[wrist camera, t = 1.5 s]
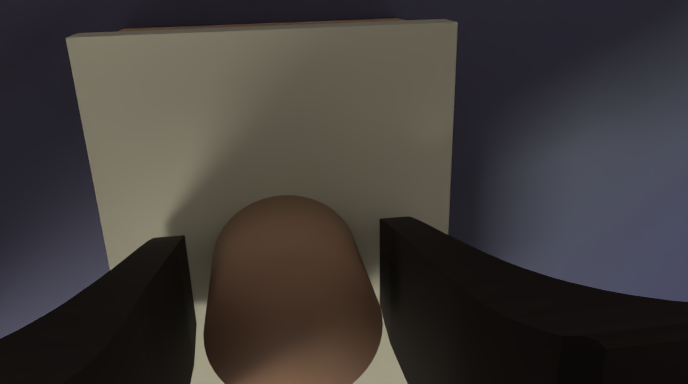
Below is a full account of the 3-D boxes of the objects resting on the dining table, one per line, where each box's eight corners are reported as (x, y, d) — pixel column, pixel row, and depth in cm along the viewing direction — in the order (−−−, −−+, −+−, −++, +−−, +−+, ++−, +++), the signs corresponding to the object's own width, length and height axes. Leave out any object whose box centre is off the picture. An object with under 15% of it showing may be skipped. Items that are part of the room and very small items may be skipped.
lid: (425, 384, 16) (478, 509, 12) (154, 417, 15) (123, 564, 11) (437, 16, 12) (516, 37, 9) (85, 30, 11) (7, 59, 8)
